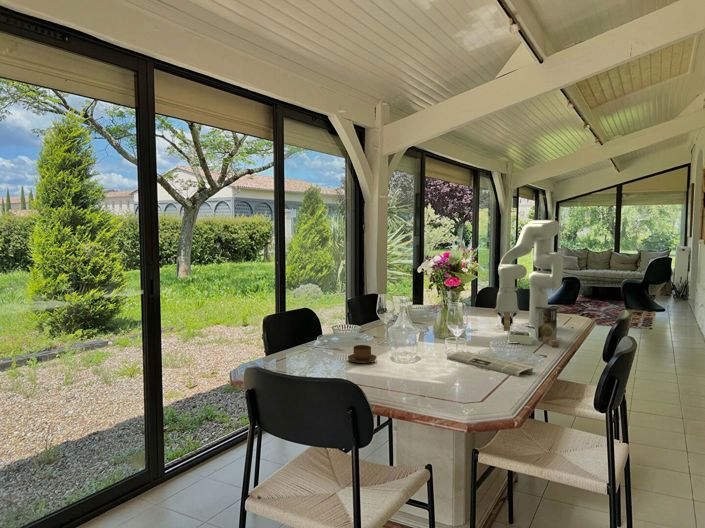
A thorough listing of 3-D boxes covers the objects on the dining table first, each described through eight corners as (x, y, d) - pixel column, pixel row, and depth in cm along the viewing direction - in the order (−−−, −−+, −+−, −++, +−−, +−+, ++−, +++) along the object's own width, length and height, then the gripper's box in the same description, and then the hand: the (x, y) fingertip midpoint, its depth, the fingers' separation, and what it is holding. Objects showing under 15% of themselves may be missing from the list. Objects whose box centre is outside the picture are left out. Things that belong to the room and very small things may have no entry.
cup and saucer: (343, 359, 214) (343, 345, 213) (369, 356, 218) (369, 342, 218) (354, 366, 203) (355, 351, 202) (381, 363, 207) (381, 348, 207)
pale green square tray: (507, 338, 253) (507, 330, 252) (529, 339, 250) (530, 332, 250) (508, 343, 242) (509, 335, 242) (531, 344, 240) (532, 336, 240)
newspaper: (446, 359, 214) (446, 351, 214) (464, 355, 223) (464, 347, 222) (521, 378, 188) (522, 369, 188) (538, 372, 196) (539, 363, 196)
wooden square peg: (503, 329, 261) (503, 306, 259) (509, 329, 260) (509, 307, 259) (503, 330, 258) (504, 308, 257) (510, 331, 257) (510, 308, 256)
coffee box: (552, 338, 255) (553, 306, 253) (556, 340, 248) (557, 308, 247) (534, 337, 256) (535, 306, 254) (537, 340, 249) (538, 308, 248)
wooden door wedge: (542, 342, 247) (542, 336, 247) (548, 342, 247) (548, 336, 247) (552, 348, 235) (552, 341, 235) (558, 348, 235) (559, 341, 235)
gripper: (523, 289, 258) (522, 324, 260) (490, 288, 262) (490, 323, 264) (524, 291, 251) (524, 327, 253) (490, 290, 255) (490, 326, 257)
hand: (506, 324), depth 259 cm, fingers closed on wooden square peg, 3 cm apart
